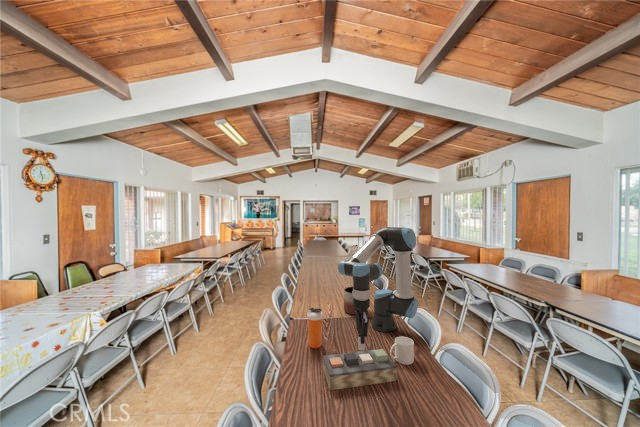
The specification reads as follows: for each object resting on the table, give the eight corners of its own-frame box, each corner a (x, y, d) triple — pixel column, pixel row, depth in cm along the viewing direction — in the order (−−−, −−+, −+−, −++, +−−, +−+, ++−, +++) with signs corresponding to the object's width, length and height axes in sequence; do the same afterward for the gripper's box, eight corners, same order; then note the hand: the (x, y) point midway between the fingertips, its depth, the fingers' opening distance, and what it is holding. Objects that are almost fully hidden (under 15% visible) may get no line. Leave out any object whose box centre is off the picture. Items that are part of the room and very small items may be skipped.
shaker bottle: (321, 350, 133) (321, 313, 133) (305, 348, 135) (305, 311, 135) (324, 341, 142) (324, 306, 142) (309, 340, 144) (309, 305, 144)
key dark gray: (354, 360, 115) (354, 352, 115) (358, 367, 110) (358, 358, 110) (344, 362, 114) (344, 353, 114) (347, 368, 109) (347, 359, 109)
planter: (341, 307, 194) (341, 286, 194) (363, 305, 196) (363, 286, 196) (346, 316, 176) (346, 294, 176) (371, 315, 178) (370, 293, 178)
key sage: (382, 357, 118) (382, 349, 118) (387, 363, 113) (387, 355, 113) (372, 358, 117) (372, 350, 117) (377, 365, 112) (377, 356, 112)
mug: (409, 354, 129) (409, 336, 129) (416, 364, 120) (416, 345, 120) (386, 354, 129) (386, 336, 129) (392, 365, 120) (392, 346, 120)
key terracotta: (340, 365, 114) (340, 356, 114) (343, 372, 109) (343, 363, 109) (329, 367, 113) (329, 358, 113) (332, 374, 108) (332, 364, 108)
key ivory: (368, 362, 117) (368, 353, 117) (373, 368, 112) (373, 359, 112) (358, 363, 116) (358, 354, 116) (362, 370, 111) (362, 361, 111)
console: (382, 361, 123) (382, 348, 123) (396, 380, 109) (396, 365, 109) (323, 369, 117) (323, 355, 117) (330, 390, 103) (329, 374, 103)
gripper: (349, 293, 119) (349, 342, 119) (358, 303, 106) (358, 358, 107) (364, 292, 120) (364, 341, 121) (374, 302, 108) (375, 356, 108)
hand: (361, 349), depth 114 cm, fingers closed
